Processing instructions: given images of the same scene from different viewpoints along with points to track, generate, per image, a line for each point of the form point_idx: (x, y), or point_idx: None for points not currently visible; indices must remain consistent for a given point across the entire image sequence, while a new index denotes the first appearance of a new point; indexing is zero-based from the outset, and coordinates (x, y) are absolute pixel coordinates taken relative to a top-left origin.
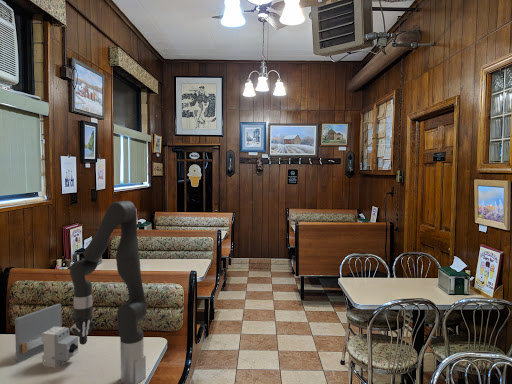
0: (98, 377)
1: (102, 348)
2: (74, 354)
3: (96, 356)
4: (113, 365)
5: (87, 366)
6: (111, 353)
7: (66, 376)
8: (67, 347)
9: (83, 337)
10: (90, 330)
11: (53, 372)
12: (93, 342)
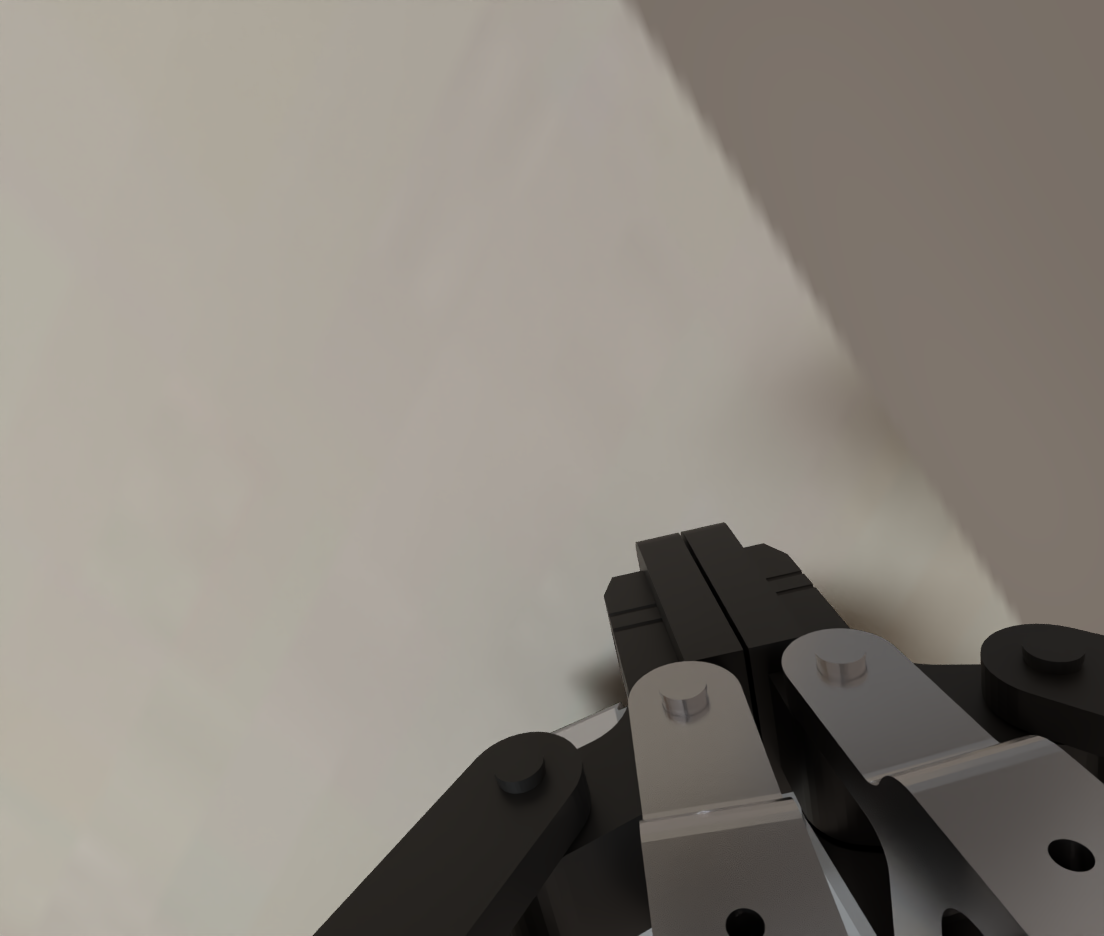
0: (572, 27)
1: (154, 738)
2: (591, 720)
3: (307, 608)
4: (239, 180)
5: (515, 456)
6: (111, 536)
7: (808, 426)
8: (787, 796)
9: (798, 623)
10: (512, 778)
11: None
12: (180, 932)
